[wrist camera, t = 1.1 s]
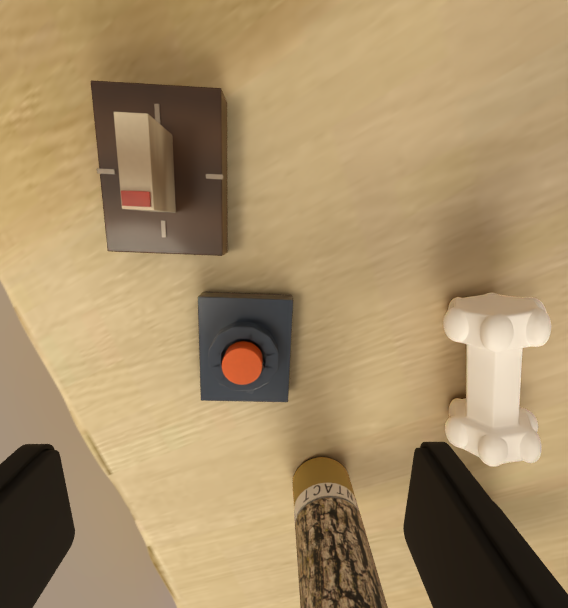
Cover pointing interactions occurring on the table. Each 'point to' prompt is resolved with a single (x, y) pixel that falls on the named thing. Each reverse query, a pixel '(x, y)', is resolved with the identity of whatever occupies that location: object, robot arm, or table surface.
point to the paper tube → (332, 540)
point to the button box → (252, 328)
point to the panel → (187, 168)
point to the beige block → (144, 163)
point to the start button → (242, 363)
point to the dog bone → (495, 376)
